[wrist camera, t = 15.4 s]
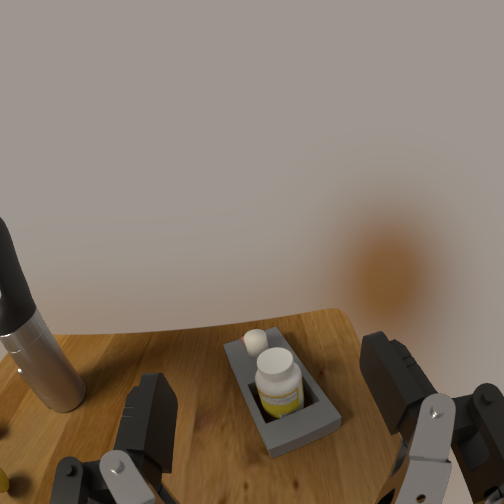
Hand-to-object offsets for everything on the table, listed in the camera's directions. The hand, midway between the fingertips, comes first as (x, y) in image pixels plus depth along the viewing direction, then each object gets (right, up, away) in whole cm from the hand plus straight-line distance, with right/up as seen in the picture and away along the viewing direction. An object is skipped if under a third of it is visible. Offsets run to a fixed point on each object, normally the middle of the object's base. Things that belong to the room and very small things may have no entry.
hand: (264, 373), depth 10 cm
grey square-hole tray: (+3, -15, +25) cm, 29 cm away
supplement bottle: (+4, -16, +22) cm, 27 cm away
